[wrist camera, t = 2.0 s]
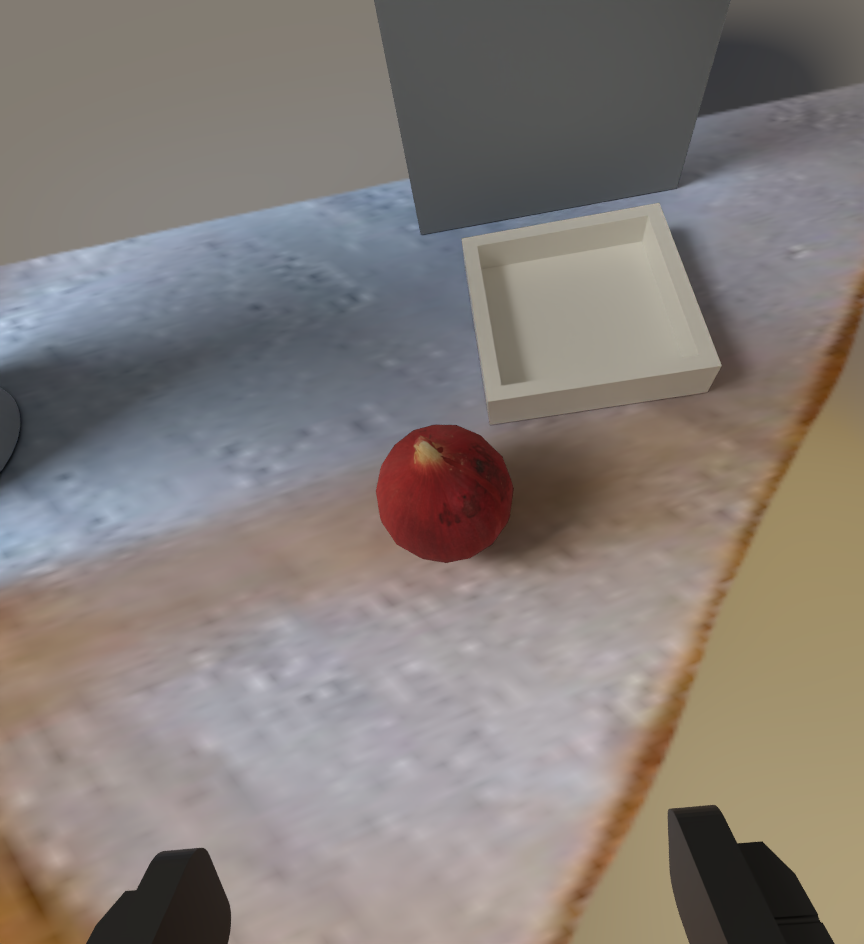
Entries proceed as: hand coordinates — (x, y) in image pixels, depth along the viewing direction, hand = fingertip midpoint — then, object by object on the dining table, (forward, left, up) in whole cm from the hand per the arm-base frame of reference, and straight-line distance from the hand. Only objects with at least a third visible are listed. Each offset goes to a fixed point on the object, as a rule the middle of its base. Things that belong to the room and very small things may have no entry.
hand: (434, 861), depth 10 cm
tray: (-12, +20, -14) cm, 28 cm away
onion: (-9, +7, -15) cm, 19 cm away
